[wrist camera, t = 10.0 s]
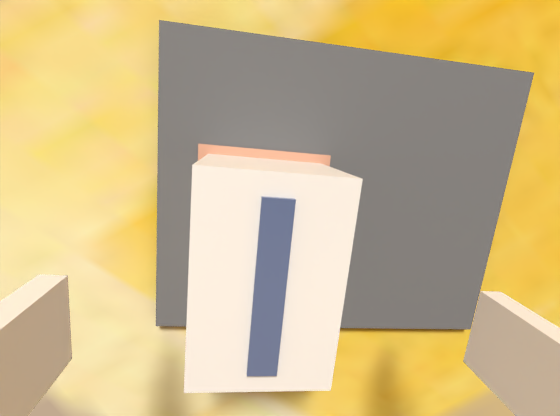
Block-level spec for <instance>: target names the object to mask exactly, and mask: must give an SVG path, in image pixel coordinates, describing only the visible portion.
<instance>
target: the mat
mask: <svg viewBox="0 0 560 416" xmlns="http://www.w3.org/2000/svg"><path fill="white" fill-rule="evenodd" d="M533 75H534V73H532V72H524V71H517V70H510V69H503V68H496V67H489V66H482V65H475V64H468V63H460V62H453V61H446V60H439V59H432V58H425V57H418V56H411V55H404V54H396V53H389V52H382V51H375V50H368V49H361V48H354V47H347V46H340V45H332V44H325V43H318V42H311V41H304V40H297V39H290V38H283V37H276V36H268V35H261V34H254V33H247V32H240V31H233V30H226V29H219V28H212V27H204V26H197V25H190V24H183V23H176V22H169V21H162V20H159V90H158V181H157V271H156V326H186V323H187V296H188V268H189V241H190V214H191V186H192V165H193V164H194V163H196V162H197V161H199V160H200V159H201V158H203V157H204V156H206V155H207V154H218V155H230V156H241V157H253V158H264V159H275V160H287V161H298V162H310V163H321V164H324V165H327V166H329V167H332V168H335V169H337V170H340V171H343V172H346V173H348V174H351V175H354V176H356V177H359V178H362V179H363V181H362V187H361V194H360V200H359V207H358V213H357V220H356V227H355V233H354V240H353V246H352V253H351V260H350V266H349V273H348V279H347V286H346V292H345V299H344V306H343V312H342V319H341V325H340V328H393V329H471V325H472V321H473V317H474V313H475V309H476V305H477V301H478V297H479V293H480V289H481V285H482V281H483V277H484V273H485V269H486V265H487V261H488V257H489V253H490V248H491V244H492V240H493V236H494V232H495V228H496V224H497V220H498V216H499V212H500V208H501V204H502V200H503V196H504V192H505V188H506V184H507V180H508V176H509V172H510V168H511V164H512V160H513V156H514V152H515V148H516V144H517V140H518V136H519V132H520V127H521V123H522V119H523V115H524V111H525V107H526V103H527V99H528V95H529V91H530V87H531V83H532V79H533Z"/></svg>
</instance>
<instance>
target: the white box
mask: <svg viewBox="0 0 560 416" xmlns="http://www.w3.org/2000/svg"><path fill="white" fill-rule="evenodd" d="M362 181H363V179H362V178H359V177H356V176H354V175H351V174H348V173H346V172H343V171H340V170H337V169H335V168H332V167H329V166H327V165H324V164H321V163H310V162H298V161H287V160H275V159H264V158H253V157H241V156H230V155H218V154H207V155H206V156H204V157H203V158H201V159H200V160H199V161H197V162H196V163H194V164H193V165H192V186H191V214H190V241H189V268H188V296H187V323H186V351H185V378H184V393H212V392H272V391H331V385H332V378H333V371H334V365H335V358H336V352H337V345H338V338H339V332H340V325H341V319H342V312H343V306H344V299H345V292H346V286H347V279H348V273H349V266H350V260H351V253H352V246H353V240H354V233H355V227H356V220H357V213H358V207H359V200H360V194H361V187H362Z"/></svg>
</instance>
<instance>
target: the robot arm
mask: <svg viewBox="0 0 560 416" xmlns="http://www.w3.org/2000/svg"><path fill="white" fill-rule="evenodd" d="M71 359H72V349H71V330H70V311H69V292H68V276H67V275H40V274H39V275H37V276H36V277H35V278H33V279H32V280H30V281H29V282H27V283H26V284H24V285H23V286H21V287H20V288H18V289H17V290H16V291H14V292H13V293H11V294H10V295H8V296H7V297H5V298H4V299H2V300H1V301H0V416H28V415H29V414H30V413H31V411H32V410H33V409H34V408H35V406H36V405H37V404H38V402H39V401H40V400H41V398H42V397H43V396H44V394H45V393H46V392H47V391H48V389H49V388H50V387H51V385H52V384H53V383H54V381H55V380H56V379H57V377H58V376H59V375H60V374H61V372H62V371H63V370H64V368H65V367H66V366H67V364H68V363H69V362H70V361H71ZM463 362H464V363H465V364H466V365H467V366H468V367H469V368H470V369H471V370H472V371H473V372H474V373H475V374H476V375H477V376H478V377H479V378H480V379H481V380H482V381H483V383H484V384H485V385H486V386H487V387H488V388H489V389H490V390H491V391H492V392H493V393H494V394H495V395H496V396H497V397H498V398H499V399H500V400H501V401H502V402H503V403H504V404H505V405H506V406H507V407H508V408H509V410H510V411H511V412H513V414H514V415H515V416H560V328H559V327H557V326H555V325H554V324H552V323H551V322H549V321H547V320H546V319H544V318H543V317H541V316H539V315H538V314H536V313H534V312H533V311H531V310H530V309H528V308H526V307H525V306H523V305H521V304H520V303H518V302H517V301H515V300H513V299H512V298H510V297H508V296H507V295H505V294H504V293H502V292H490V291H481V292H480V296H479V300H478V304H477V308H476V312H475V316H474V320H473V324H472V328H471V332H470V336H469V340H468V344H467V348H466V352H465V356H464V360H463Z"/></svg>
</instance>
